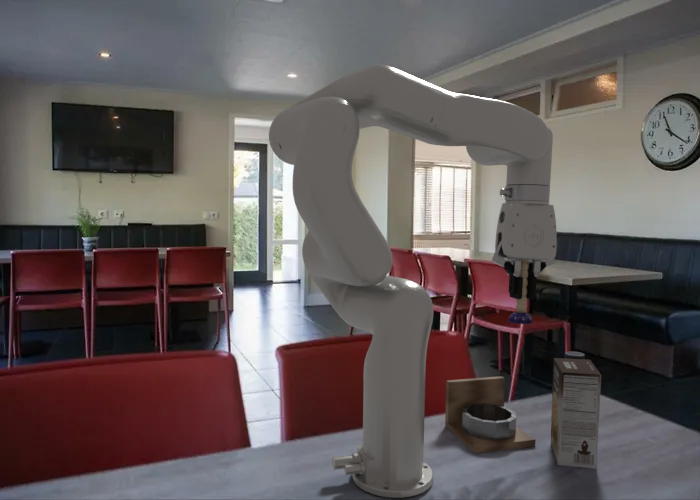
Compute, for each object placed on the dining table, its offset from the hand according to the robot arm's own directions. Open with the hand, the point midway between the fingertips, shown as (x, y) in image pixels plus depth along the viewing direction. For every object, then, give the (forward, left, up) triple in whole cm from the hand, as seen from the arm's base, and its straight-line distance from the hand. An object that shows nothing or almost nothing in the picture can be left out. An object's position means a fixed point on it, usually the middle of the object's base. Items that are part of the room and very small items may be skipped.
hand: (521, 297), depth 100 cm
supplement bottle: (+23, +13, -27) cm, 37 cm away
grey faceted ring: (-5, +2, -25) cm, 26 cm away
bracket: (-5, +2, -26) cm, 27 cm away
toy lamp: (0, 0, -5) cm, 5 cm away
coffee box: (+5, -8, -27) cm, 29 cm away
